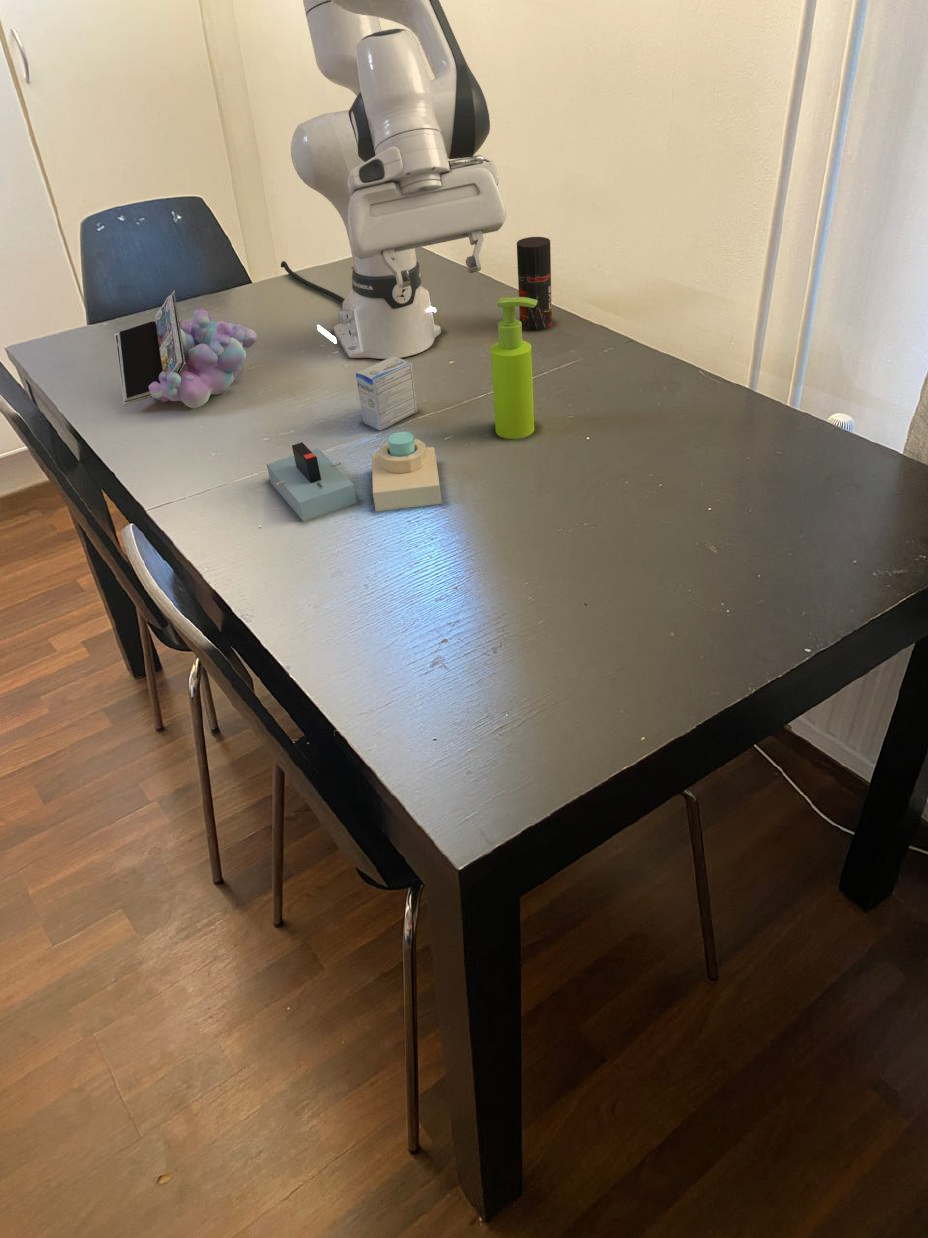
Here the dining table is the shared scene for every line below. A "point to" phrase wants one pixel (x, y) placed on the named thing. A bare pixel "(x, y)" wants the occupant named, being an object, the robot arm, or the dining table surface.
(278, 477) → the switch panel
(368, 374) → the medicine box
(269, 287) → the dining table surface
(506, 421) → the soap dispenser
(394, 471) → the beige nut base
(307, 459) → the black rectangular block
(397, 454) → the teal short cylinder
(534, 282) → the deodorant
